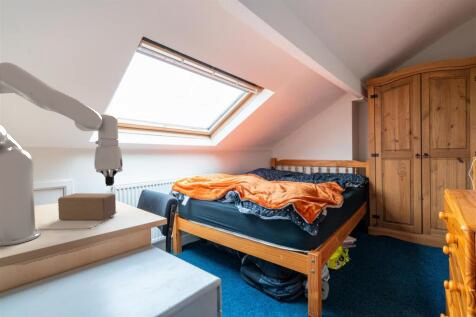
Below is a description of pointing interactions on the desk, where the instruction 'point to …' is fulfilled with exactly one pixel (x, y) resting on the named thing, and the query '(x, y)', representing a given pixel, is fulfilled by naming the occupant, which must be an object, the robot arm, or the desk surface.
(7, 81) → the robot arm
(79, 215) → the block
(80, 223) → the mat
